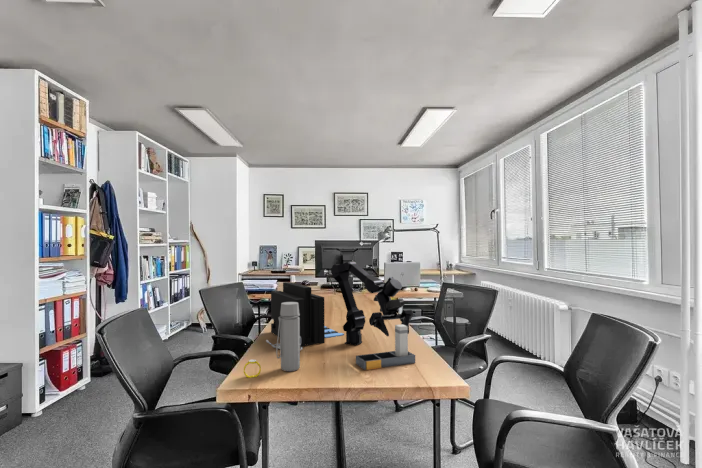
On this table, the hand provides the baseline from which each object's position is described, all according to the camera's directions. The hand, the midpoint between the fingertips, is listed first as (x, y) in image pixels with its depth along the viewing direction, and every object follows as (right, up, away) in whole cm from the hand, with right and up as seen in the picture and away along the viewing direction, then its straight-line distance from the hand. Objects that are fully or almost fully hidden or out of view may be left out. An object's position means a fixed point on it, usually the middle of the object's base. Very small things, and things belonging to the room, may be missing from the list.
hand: (398, 334), depth 157 cm
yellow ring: (-55, -11, -18) cm, 59 cm away
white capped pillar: (+1, -10, -3) cm, 10 cm away
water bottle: (-43, -11, -10) cm, 46 cm away
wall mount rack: (-49, -11, +16) cm, 53 cm away
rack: (-6, -10, -5) cm, 13 cm away
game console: (-40, -12, +43) cm, 60 cm away
